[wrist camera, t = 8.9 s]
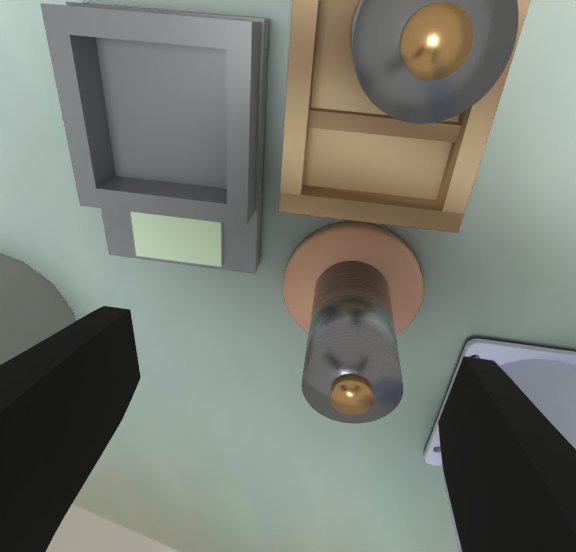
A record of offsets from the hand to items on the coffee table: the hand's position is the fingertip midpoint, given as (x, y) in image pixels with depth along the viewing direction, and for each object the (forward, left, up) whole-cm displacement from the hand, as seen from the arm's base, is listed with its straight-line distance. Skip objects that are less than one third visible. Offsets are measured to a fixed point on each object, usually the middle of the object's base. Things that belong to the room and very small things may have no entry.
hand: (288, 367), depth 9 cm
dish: (-4, -2, -10) cm, 11 cm away
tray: (+5, -2, -10) cm, 12 cm away
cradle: (+2, +6, -10) cm, 12 cm away
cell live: (+7, -2, -10) cm, 12 cm away
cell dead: (-4, -2, -10) cm, 11 cm away
